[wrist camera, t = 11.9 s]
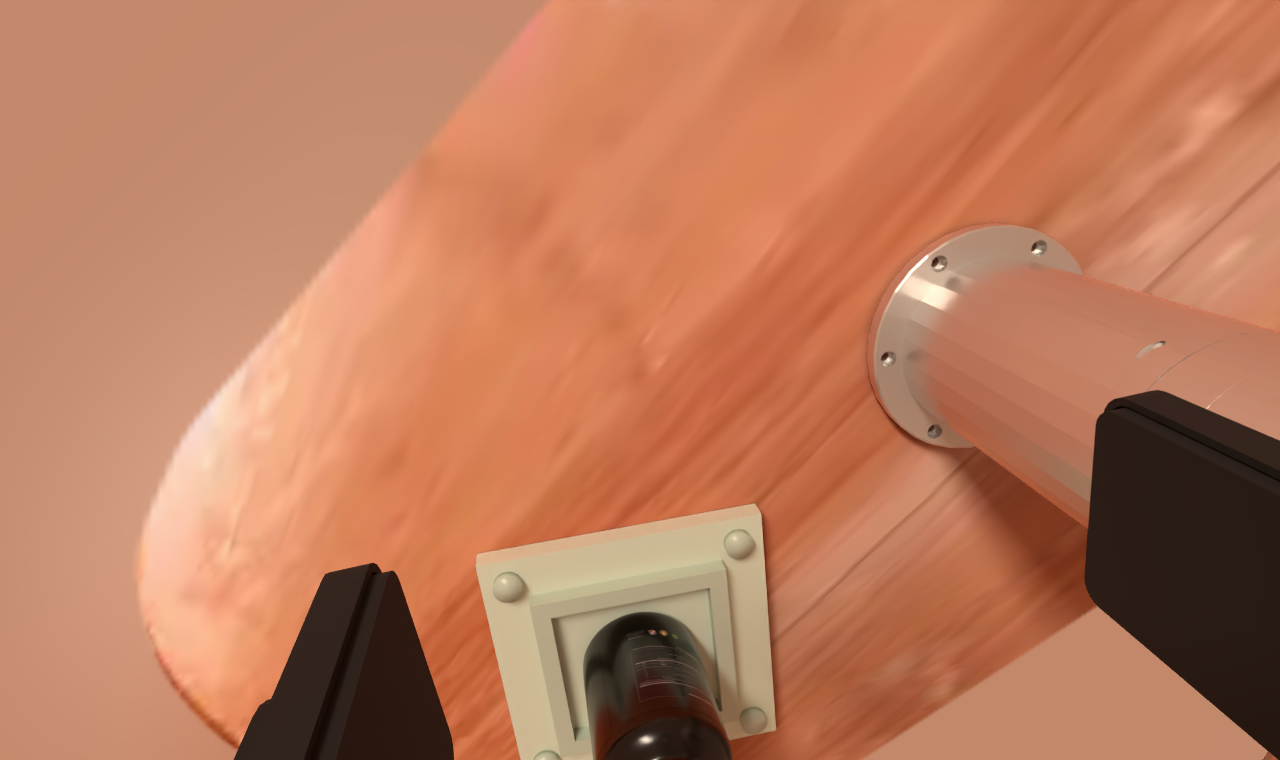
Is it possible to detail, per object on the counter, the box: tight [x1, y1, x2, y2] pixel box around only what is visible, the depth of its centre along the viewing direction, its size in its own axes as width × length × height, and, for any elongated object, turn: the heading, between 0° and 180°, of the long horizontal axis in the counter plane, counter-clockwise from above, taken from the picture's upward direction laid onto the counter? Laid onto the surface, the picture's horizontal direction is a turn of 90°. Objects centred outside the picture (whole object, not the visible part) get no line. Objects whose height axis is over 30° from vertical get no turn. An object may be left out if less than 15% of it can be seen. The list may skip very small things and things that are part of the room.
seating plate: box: [476, 504, 776, 760], centre depth 43 cm, size 16×16×2 cm
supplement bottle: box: [583, 612, 733, 760], centre depth 38 cm, size 7×7×12 cm
